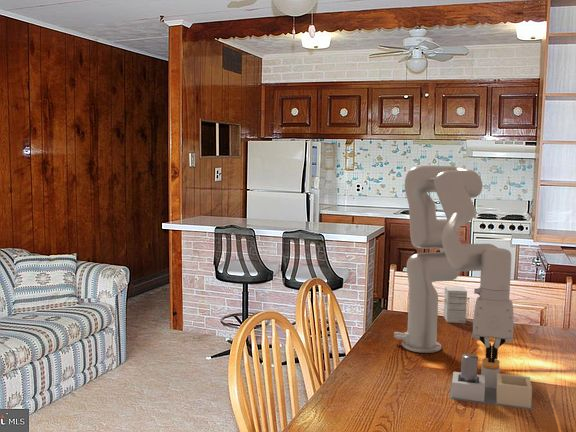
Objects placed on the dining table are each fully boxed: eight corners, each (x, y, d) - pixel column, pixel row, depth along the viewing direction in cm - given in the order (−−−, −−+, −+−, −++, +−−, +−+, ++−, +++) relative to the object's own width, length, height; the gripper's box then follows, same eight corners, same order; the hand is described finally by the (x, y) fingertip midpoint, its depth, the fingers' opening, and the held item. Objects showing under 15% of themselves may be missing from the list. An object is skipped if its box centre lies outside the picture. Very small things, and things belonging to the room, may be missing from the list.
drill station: (448, 404, 151) (450, 379, 151) (451, 381, 166) (452, 359, 166) (533, 415, 145) (534, 390, 145) (528, 391, 160) (529, 368, 160)
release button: (481, 383, 159) (482, 362, 159) (481, 378, 164) (482, 357, 163) (498, 386, 158) (499, 364, 157) (498, 380, 162) (499, 359, 162)
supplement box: (443, 317, 234) (444, 285, 232) (462, 318, 233) (463, 286, 232) (446, 322, 226) (447, 290, 225) (466, 323, 226) (467, 290, 224)
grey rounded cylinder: (459, 395, 153) (461, 358, 152) (460, 389, 157) (461, 353, 156) (475, 397, 152) (477, 359, 151) (476, 391, 156) (477, 354, 155)
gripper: (465, 295, 157) (462, 362, 159) (525, 300, 152) (521, 369, 154) (465, 289, 164) (462, 353, 166) (523, 293, 160) (519, 359, 161)
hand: (491, 360), depth 160 cm, fingers closed
